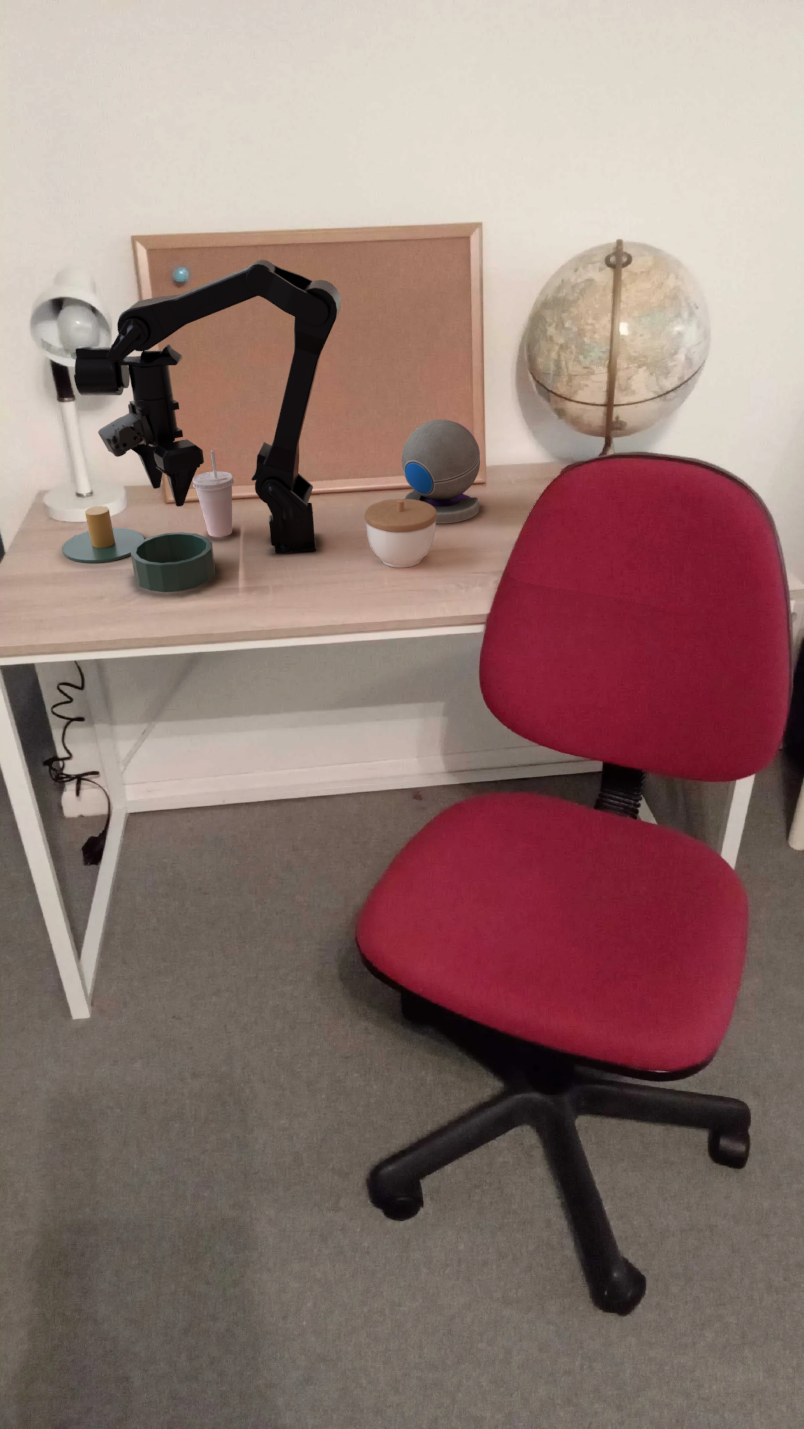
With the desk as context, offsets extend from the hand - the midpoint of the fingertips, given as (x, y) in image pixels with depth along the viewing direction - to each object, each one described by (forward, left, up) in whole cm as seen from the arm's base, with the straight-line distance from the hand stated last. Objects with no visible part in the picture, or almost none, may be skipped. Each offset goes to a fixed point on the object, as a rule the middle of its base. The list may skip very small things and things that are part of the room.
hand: (167, 496), depth 153 cm
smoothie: (-7, -3, -8) cm, 11 cm away
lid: (+11, 0, -7) cm, 13 cm away
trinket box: (-35, +11, -8) cm, 38 cm away
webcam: (-44, -8, -8) cm, 45 cm away
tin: (-1, +12, -8) cm, 15 cm away
